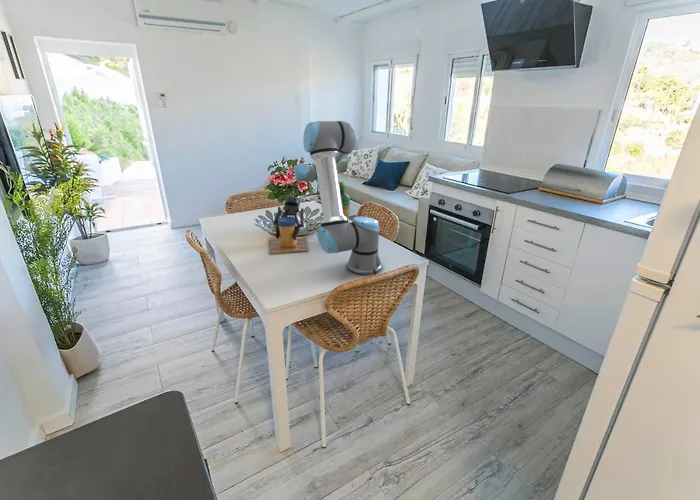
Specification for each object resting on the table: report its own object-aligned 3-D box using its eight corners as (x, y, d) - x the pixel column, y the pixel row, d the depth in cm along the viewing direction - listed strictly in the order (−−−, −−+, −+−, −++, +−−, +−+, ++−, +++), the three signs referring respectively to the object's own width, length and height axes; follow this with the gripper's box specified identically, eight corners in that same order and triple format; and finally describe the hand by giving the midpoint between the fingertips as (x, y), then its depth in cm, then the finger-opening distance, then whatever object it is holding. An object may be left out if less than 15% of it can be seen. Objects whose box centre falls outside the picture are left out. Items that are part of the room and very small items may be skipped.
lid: (296, 226, 174) (296, 221, 173) (278, 227, 172) (278, 222, 171) (295, 220, 181) (294, 216, 180) (278, 221, 180) (277, 217, 179)
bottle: (339, 234, 197) (339, 185, 185) (327, 229, 204) (327, 181, 192) (353, 229, 203) (354, 182, 192) (341, 225, 210) (341, 179, 199)
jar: (296, 246, 178) (295, 222, 173) (280, 247, 177) (278, 223, 171) (295, 240, 186) (294, 217, 180) (279, 241, 184) (278, 218, 179)
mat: (307, 251, 174) (307, 250, 174) (270, 254, 171) (270, 253, 171) (304, 237, 192) (304, 236, 192) (270, 239, 189) (270, 238, 188)
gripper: (314, 203, 186) (307, 242, 179) (276, 201, 189) (268, 239, 181) (311, 196, 180) (304, 236, 172) (271, 194, 182) (263, 234, 174)
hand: (285, 238), depth 176 cm, fingers closed on jar, 8 cm apart
